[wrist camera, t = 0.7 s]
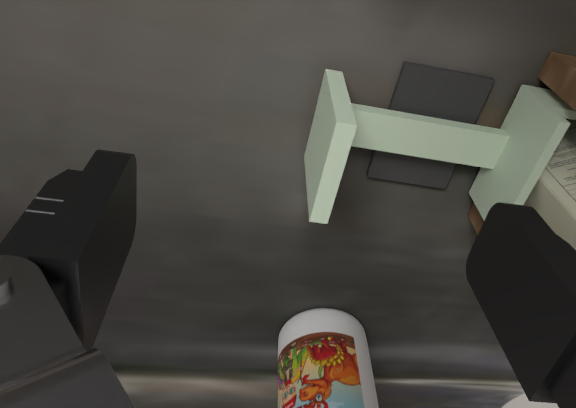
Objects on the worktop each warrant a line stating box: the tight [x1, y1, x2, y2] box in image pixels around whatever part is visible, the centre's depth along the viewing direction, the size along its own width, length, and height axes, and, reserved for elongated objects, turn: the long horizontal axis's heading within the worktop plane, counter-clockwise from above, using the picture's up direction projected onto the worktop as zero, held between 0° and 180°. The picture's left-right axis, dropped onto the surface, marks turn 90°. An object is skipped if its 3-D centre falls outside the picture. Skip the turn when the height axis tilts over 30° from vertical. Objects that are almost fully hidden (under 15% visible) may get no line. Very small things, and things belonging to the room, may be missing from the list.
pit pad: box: [366, 62, 495, 189], centre depth 32 cm, size 8×6×1 cm
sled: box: [304, 69, 576, 224], centre depth 29 cm, size 8×21×7 cm, turn 79°
